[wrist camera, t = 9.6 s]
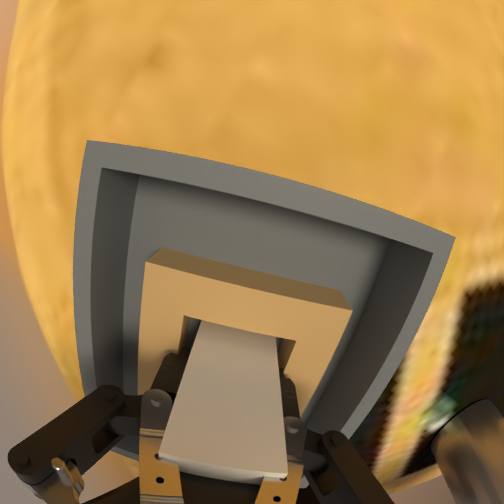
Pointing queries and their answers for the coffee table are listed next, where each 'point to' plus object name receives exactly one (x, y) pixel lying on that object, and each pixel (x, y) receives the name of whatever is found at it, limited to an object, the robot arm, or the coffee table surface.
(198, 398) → the peg
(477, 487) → the robot arm
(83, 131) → the coffee table surface
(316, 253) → the walled box
